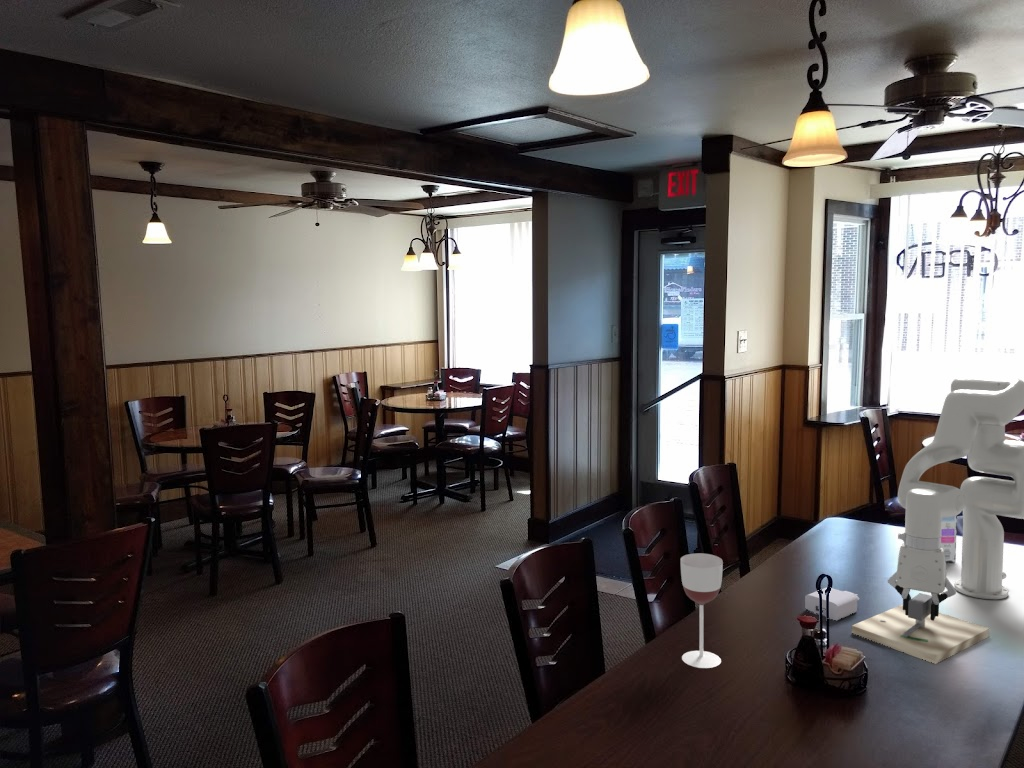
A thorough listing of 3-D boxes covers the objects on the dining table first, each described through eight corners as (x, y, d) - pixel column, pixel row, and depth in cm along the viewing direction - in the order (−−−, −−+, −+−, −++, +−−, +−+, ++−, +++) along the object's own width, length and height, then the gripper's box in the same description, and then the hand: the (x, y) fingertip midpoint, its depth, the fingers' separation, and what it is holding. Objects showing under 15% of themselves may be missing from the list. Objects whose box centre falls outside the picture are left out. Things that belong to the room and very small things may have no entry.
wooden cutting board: (906, 609, 199) (906, 602, 198) (989, 636, 182) (989, 627, 182) (851, 633, 185) (851, 625, 185) (935, 664, 169) (935, 655, 169)
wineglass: (723, 652, 177) (724, 555, 175) (720, 671, 168) (721, 569, 166) (683, 647, 180) (683, 551, 178) (678, 666, 171) (677, 565, 169)
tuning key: (919, 620, 187) (919, 593, 186) (932, 623, 185) (933, 596, 184) (898, 635, 179) (899, 607, 178) (912, 639, 176) (913, 610, 176)
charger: (870, 607, 201) (837, 622, 193) (837, 597, 209) (804, 611, 200) (870, 590, 201) (837, 604, 192) (838, 580, 208) (805, 593, 200)
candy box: (956, 562, 233) (958, 509, 231) (937, 563, 233) (938, 510, 231) (932, 548, 247) (933, 498, 245) (913, 548, 247) (915, 498, 245)
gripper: (880, 540, 184) (878, 613, 185) (962, 552, 173) (959, 629, 175) (886, 532, 190) (884, 603, 191) (966, 543, 179) (963, 618, 181)
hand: (920, 615), depth 183 cm, fingers open, 4 cm apart
